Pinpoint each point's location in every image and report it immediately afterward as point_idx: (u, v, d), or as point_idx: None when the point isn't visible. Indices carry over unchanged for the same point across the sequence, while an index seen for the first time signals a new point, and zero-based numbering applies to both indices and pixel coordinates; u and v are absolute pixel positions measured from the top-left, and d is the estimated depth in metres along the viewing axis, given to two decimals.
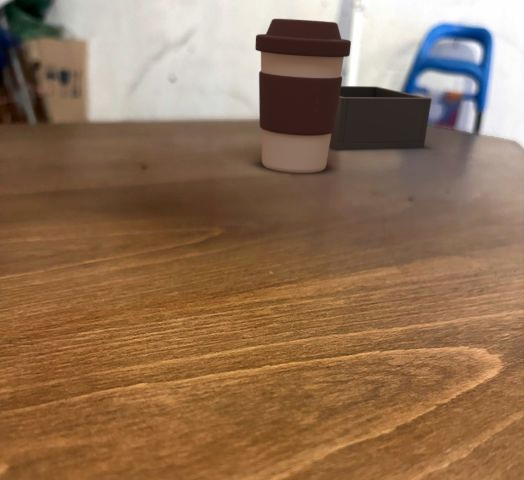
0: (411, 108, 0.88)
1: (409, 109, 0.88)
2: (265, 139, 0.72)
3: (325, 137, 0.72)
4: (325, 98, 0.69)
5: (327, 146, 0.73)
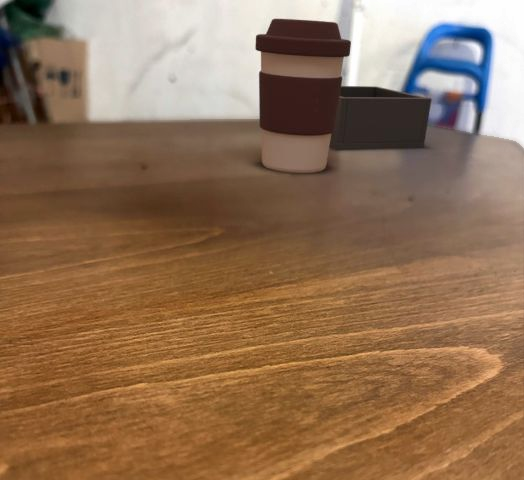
0: (411, 108, 0.88)
1: (409, 109, 0.88)
2: (265, 139, 0.72)
3: (325, 137, 0.72)
4: (325, 98, 0.69)
5: (327, 146, 0.73)
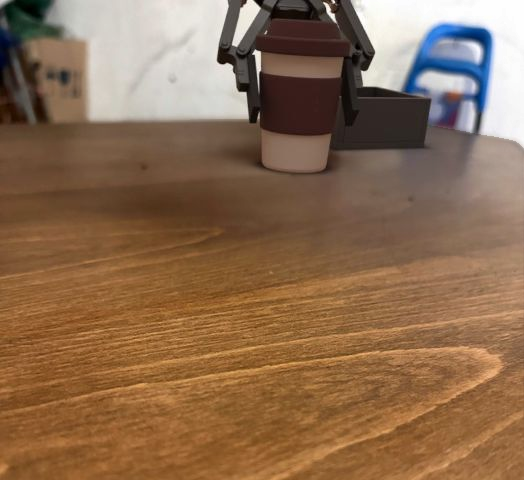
0: (411, 108, 0.88)
1: (409, 109, 0.88)
2: (265, 139, 0.72)
3: (325, 137, 0.72)
4: (325, 98, 0.69)
5: (327, 146, 0.73)
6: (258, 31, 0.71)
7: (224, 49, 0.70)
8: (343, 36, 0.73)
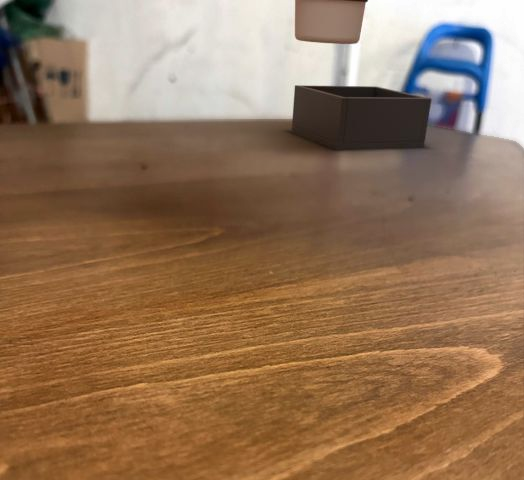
0: (411, 108, 0.88)
1: (409, 109, 0.88)
2: (299, 8, 0.72)
3: (360, 5, 0.71)
4: None
5: (362, 16, 0.72)
6: None
7: None
8: None
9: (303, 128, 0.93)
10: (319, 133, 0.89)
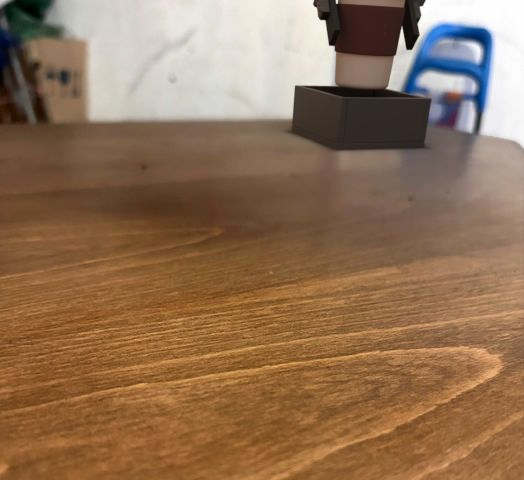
0: (411, 108, 0.88)
1: (409, 109, 0.88)
2: (340, 60, 0.88)
3: (390, 58, 0.87)
4: (392, 24, 0.84)
5: (391, 67, 0.88)
6: None
7: None
8: None
9: (303, 128, 0.93)
10: (319, 133, 0.89)
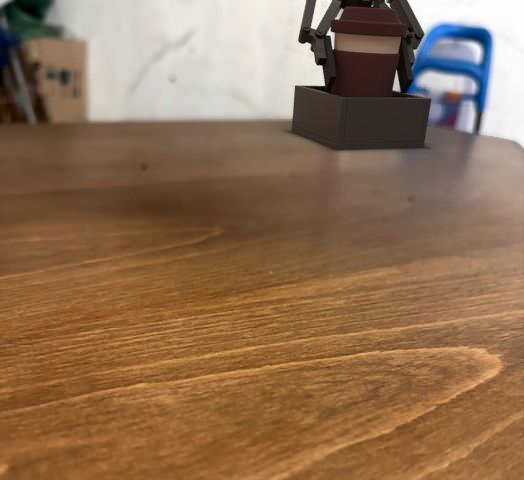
0: (411, 108, 0.88)
1: (409, 109, 0.88)
2: None
3: None
4: (387, 70, 0.87)
5: None
6: (332, 17, 0.89)
7: (306, 31, 0.87)
8: None
9: (303, 128, 0.93)
10: (319, 133, 0.89)
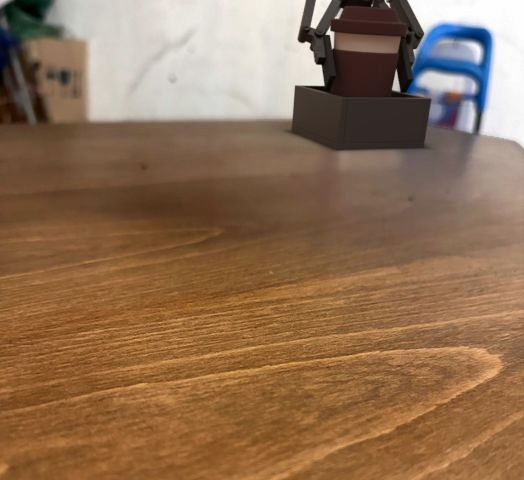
0: (411, 108, 0.88)
1: (409, 109, 0.88)
2: None
3: None
4: (386, 69, 0.87)
5: None
6: (331, 16, 0.89)
7: (306, 30, 0.88)
8: None
9: (303, 128, 0.93)
10: (319, 133, 0.89)
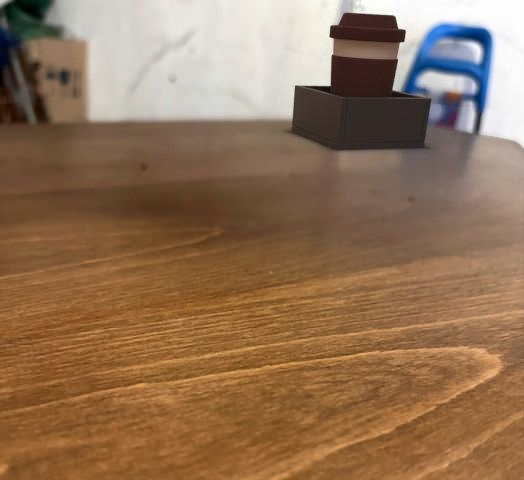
0: (411, 108, 0.88)
1: (409, 109, 0.88)
2: None
3: None
4: (386, 75, 0.87)
5: None
6: None
7: None
8: None
9: (303, 128, 0.93)
10: (319, 133, 0.89)
